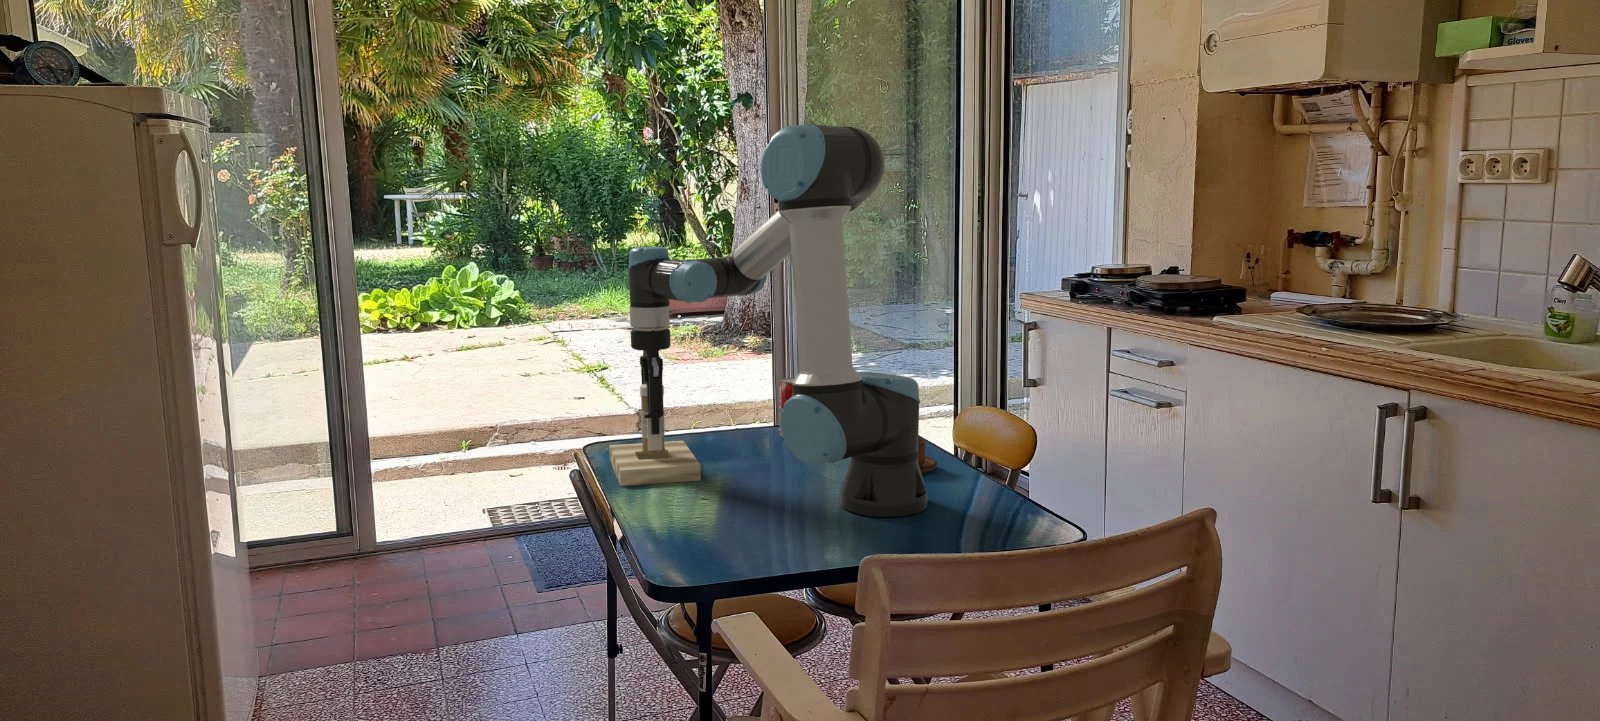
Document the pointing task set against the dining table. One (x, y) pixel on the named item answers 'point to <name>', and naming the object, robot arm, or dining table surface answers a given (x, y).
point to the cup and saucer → (924, 458)
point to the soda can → (784, 395)
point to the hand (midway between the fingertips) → (653, 446)
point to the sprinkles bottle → (644, 422)
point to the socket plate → (654, 464)
